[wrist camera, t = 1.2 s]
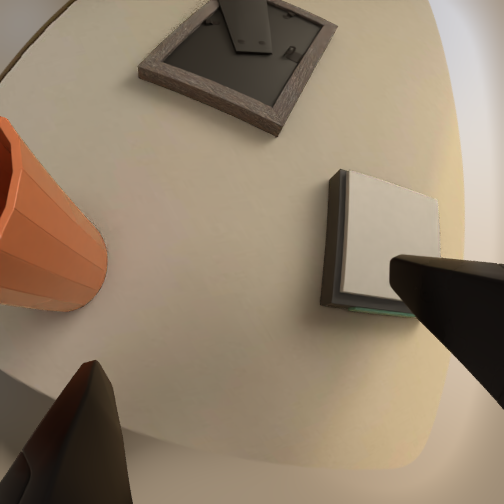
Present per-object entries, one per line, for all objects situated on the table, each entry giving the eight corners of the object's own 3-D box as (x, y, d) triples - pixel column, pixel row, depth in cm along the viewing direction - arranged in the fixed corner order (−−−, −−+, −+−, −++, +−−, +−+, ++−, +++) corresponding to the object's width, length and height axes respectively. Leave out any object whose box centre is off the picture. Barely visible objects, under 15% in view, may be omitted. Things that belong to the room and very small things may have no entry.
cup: (85, 328, 19) (-30, 330, 7) (12, 287, 18) (-114, 247, 6) (123, 236, 21) (56, 133, 8) (48, 203, 20) (-45, 102, 8)
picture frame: (230, -7, 29) (138, 78, 24) (233, -20, 27) (137, 62, 22) (333, 35, 30) (277, 137, 25) (339, 23, 28) (284, 123, 23)
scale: (422, 319, 24) (443, 318, 22) (319, 307, 22) (335, 305, 20) (423, 208, 26) (441, 198, 24) (329, 179, 25) (343, 165, 22)
